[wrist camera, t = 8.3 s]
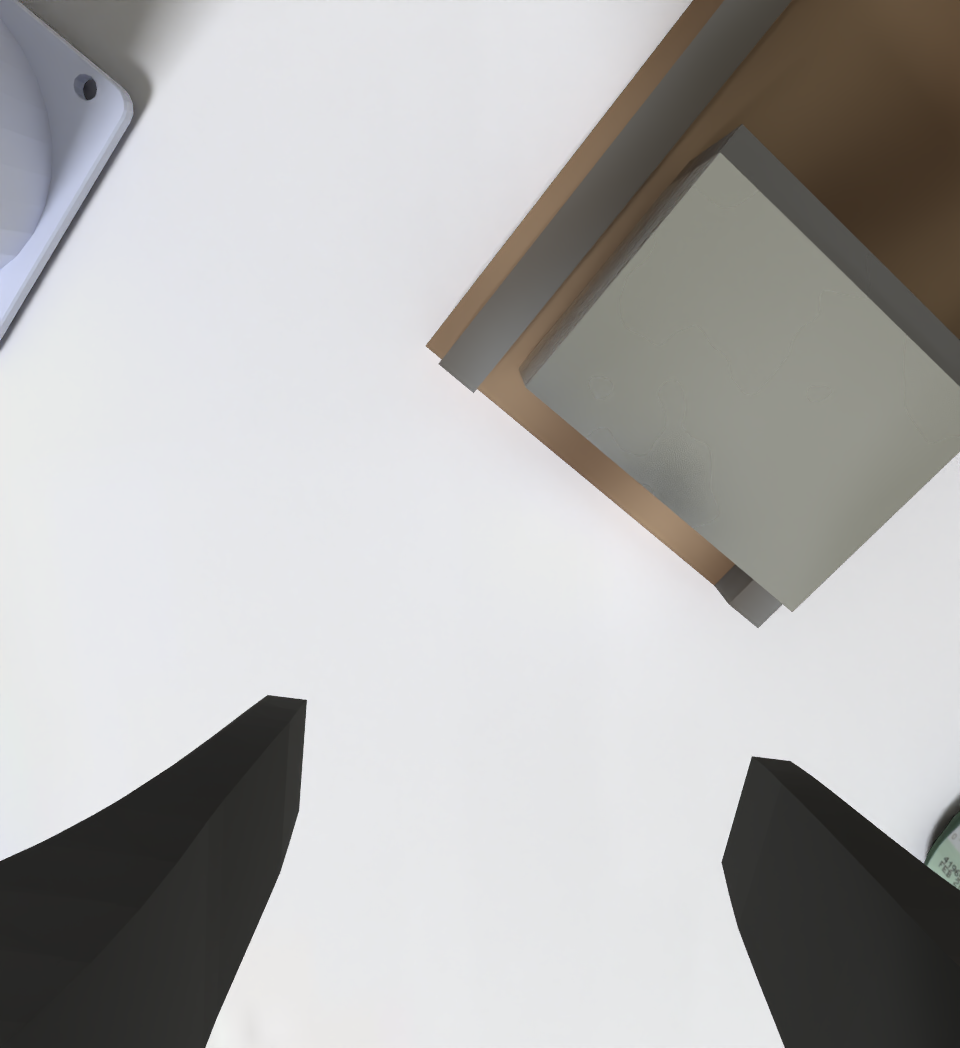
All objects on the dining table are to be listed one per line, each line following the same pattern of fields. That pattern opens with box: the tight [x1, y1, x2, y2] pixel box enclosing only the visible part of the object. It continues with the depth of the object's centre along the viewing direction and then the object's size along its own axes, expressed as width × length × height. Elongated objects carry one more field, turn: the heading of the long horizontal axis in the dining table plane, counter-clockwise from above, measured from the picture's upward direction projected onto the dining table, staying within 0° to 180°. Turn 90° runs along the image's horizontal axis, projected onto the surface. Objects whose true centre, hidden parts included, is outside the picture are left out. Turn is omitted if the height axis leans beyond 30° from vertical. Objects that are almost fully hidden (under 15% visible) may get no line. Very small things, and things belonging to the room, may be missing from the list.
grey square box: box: [518, 124, 960, 612], centre depth 15 cm, size 7×6×4 cm
